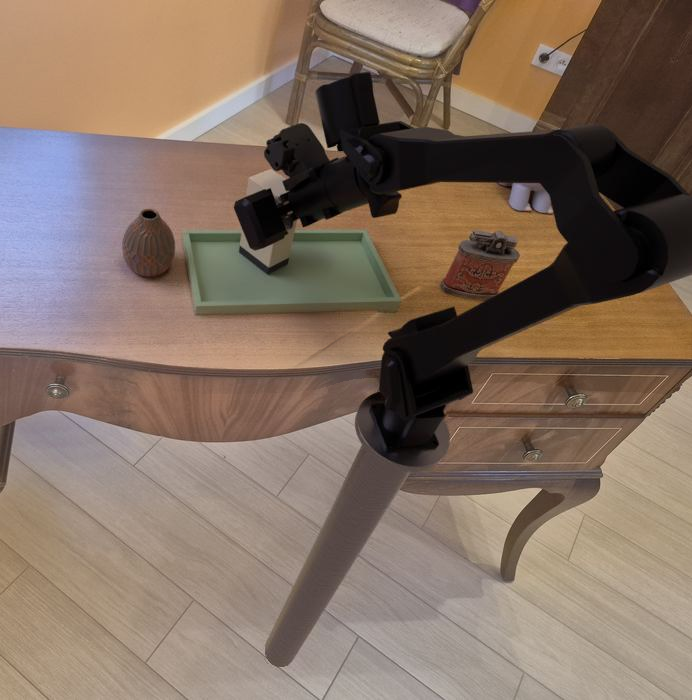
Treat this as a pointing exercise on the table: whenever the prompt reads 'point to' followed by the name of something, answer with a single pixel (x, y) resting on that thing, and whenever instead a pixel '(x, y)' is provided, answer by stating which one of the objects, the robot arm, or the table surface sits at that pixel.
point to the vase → (148, 244)
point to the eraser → (276, 252)
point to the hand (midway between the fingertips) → (262, 216)
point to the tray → (288, 275)
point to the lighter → (481, 265)
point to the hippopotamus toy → (522, 194)
